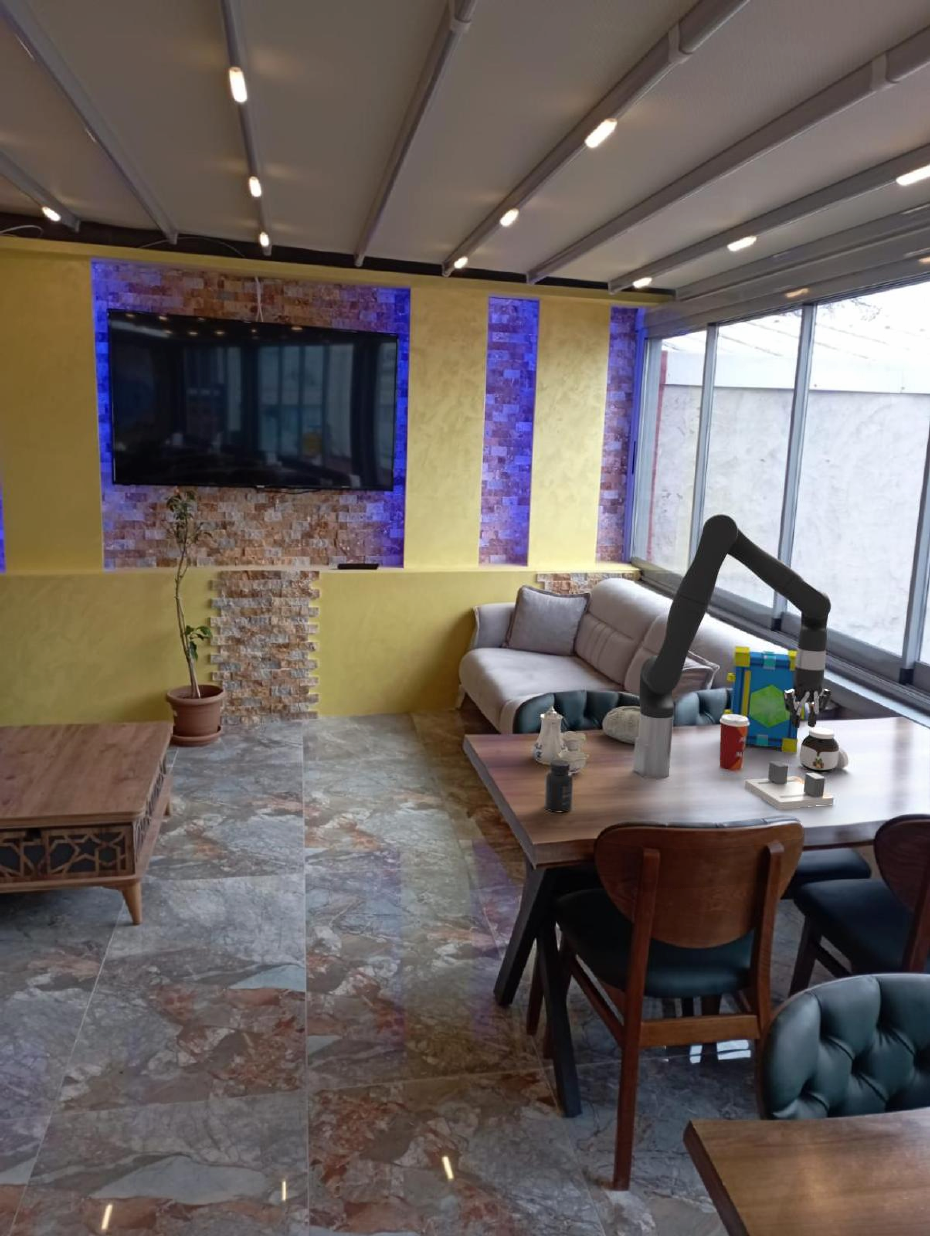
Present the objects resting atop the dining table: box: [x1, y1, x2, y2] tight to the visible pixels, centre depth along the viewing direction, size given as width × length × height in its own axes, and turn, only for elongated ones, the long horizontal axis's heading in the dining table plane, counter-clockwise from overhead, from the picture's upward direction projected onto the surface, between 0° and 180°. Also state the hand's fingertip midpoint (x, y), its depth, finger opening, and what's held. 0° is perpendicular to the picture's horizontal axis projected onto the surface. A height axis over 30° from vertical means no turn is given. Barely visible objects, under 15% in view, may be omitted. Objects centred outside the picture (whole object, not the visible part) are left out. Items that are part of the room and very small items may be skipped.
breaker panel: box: [744, 775, 835, 811], centre depth 236 cm, size 16×16×2 cm
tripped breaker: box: [767, 760, 789, 784], centre depth 240 cm, size 3×4×5 cm
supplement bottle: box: [544, 760, 574, 812], centre depth 222 cm, size 7×7×12 cm
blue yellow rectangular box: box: [723, 645, 806, 754], centre depth 277 cm, size 14×23×30 cm, turn 75°
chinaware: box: [530, 706, 590, 772], centre depth 257 cm, size 28×17×17 cm, turn 0°
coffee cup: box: [719, 714, 749, 772], centre depth 256 cm, size 8×8×15 cm
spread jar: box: [799, 726, 849, 774], centre depth 258 cm, size 12×11×12 cm
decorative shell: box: [601, 705, 640, 745], centre depth 279 cm, size 18×18×10 cm
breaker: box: [804, 772, 826, 797], centre depth 232 cm, size 3×4×5 cm
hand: (803, 726), depth 240 cm, fingers open, 4 cm apart
